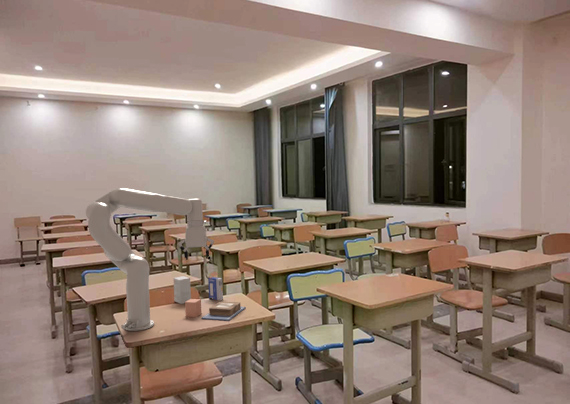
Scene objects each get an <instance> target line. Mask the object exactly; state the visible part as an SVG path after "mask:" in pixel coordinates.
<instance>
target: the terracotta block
mask: <svg viewBox="0 0 570 404" xmlns="http://www.w3.org/2000/svg"><path fill="white" fill-rule="evenodd" d="M184 309H185V317H191V318H196V317H198V316H199V315H200V316H201V314H203V313H202V299H200V298H199V299H198V298H191V299H190V300H188V301H186V302H185V303H184Z"/></svg>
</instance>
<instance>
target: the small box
mask: <svg viewBox="0 0 570 404" xmlns="http://www.w3.org/2000/svg"><path fill="white" fill-rule="evenodd" d="M191 291H192V290H191V278H190V277H187V276H185V275H184V276H183V275H181V276H178V277H173V300H174V302H176V303H177V304H180V305H183V304H185V302H186V301H188V300H190V299H192V292H191Z"/></svg>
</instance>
